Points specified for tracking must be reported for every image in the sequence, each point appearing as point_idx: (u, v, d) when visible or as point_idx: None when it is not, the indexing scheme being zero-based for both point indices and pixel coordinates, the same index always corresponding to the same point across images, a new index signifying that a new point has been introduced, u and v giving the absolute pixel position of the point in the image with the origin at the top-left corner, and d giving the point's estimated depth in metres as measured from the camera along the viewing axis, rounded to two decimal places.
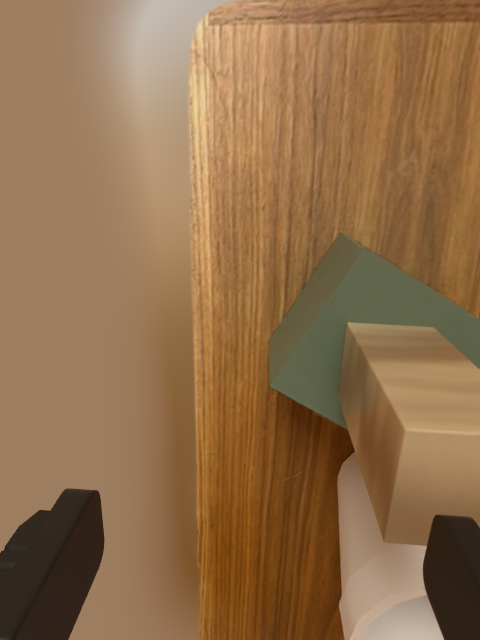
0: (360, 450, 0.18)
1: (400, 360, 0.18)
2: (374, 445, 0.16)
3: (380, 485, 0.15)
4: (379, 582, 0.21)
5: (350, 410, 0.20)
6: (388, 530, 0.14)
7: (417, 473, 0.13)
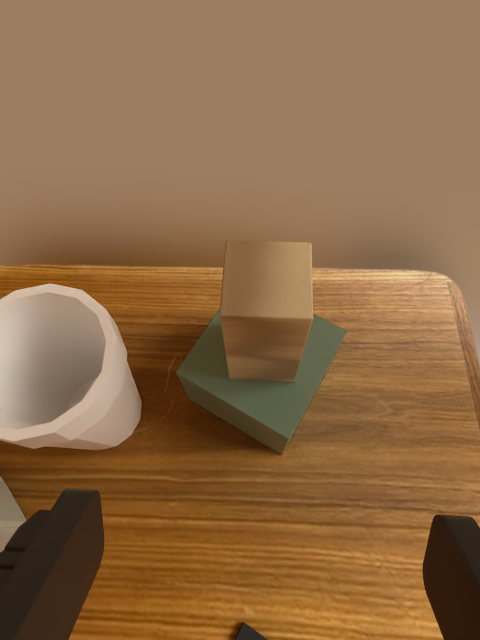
0: None
1: None
2: None
3: None
4: None
5: None
6: (236, 241, 0.22)
7: (281, 250, 0.22)
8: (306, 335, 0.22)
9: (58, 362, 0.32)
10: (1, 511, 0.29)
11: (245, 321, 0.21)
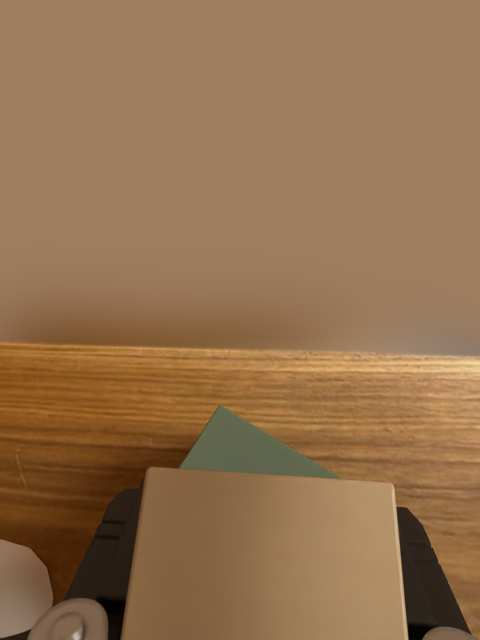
0: None
1: None
2: None
3: None
4: None
5: None
6: (176, 472, 0.08)
7: (307, 514, 0.07)
8: None
9: None
10: None
11: None
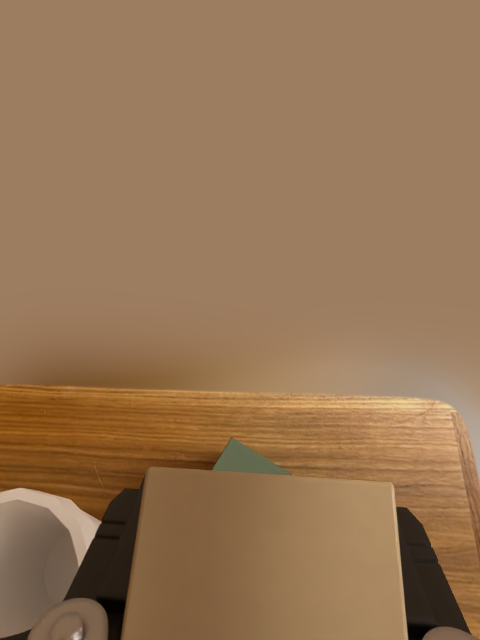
0: None
1: None
2: None
3: None
4: (81, 520, 0.24)
5: None
6: (176, 472, 0.08)
7: (306, 513, 0.07)
8: None
9: (34, 531, 0.30)
10: None
11: None
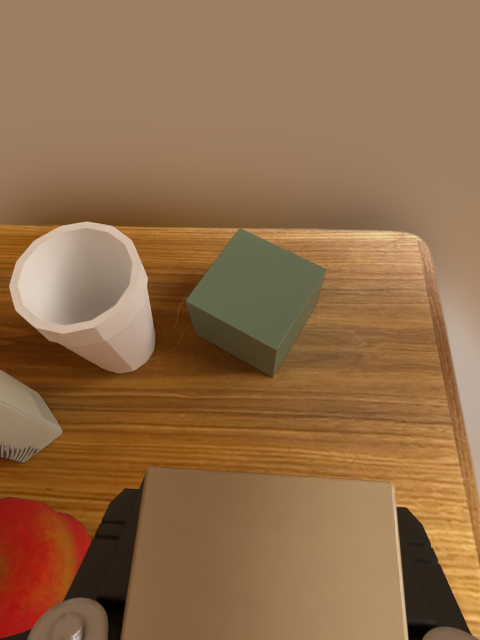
0: None
1: None
2: None
3: None
4: None
5: None
6: (176, 472, 0.08)
7: (307, 513, 0.07)
8: None
9: (87, 296, 0.39)
10: (42, 412, 0.36)
11: None
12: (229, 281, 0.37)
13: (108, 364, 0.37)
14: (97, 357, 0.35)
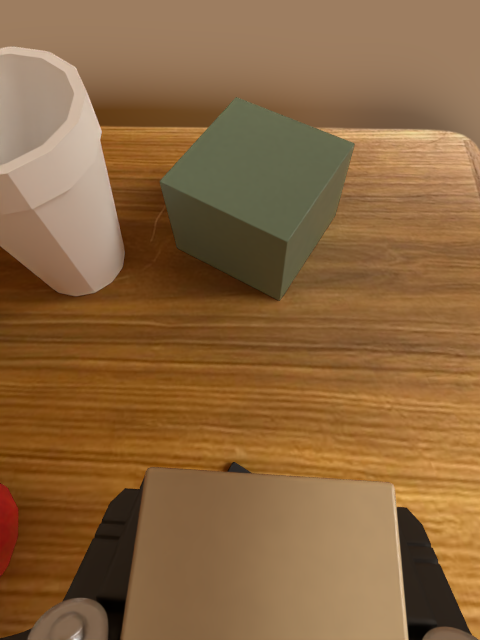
0: None
1: None
2: None
3: None
4: None
5: None
6: (176, 472, 0.08)
7: (307, 514, 0.07)
8: None
9: None
10: None
11: None
12: (220, 158, 0.27)
13: (54, 272, 0.27)
14: (32, 253, 0.24)
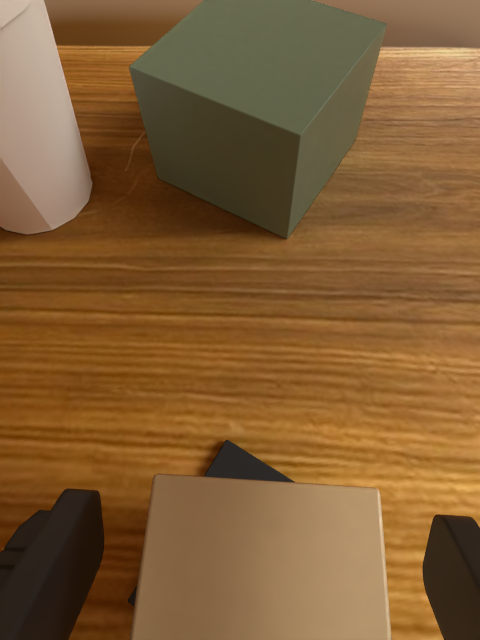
0: None
1: None
2: None
3: None
4: None
5: None
6: (180, 479, 0.08)
7: (300, 517, 0.08)
8: None
9: None
10: None
11: None
12: (210, 40, 0.20)
13: None
14: None
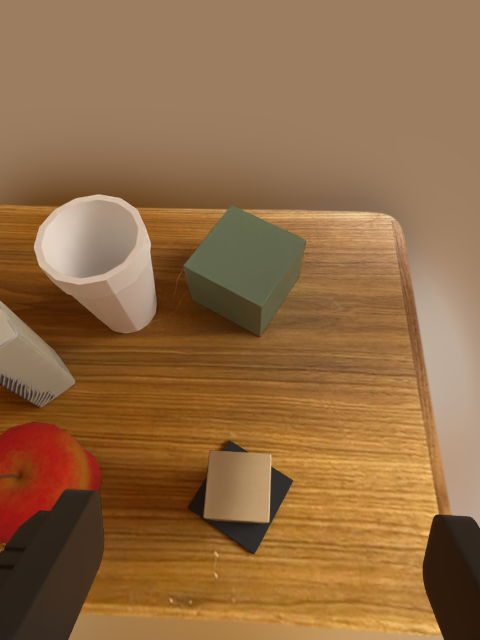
0: None
1: None
2: None
3: None
4: None
5: None
6: (217, 451, 0.31)
7: (249, 461, 0.30)
8: None
9: (97, 263, 0.44)
10: (58, 362, 0.42)
11: None
12: (221, 249, 0.43)
13: (115, 321, 0.43)
14: (107, 313, 0.40)
